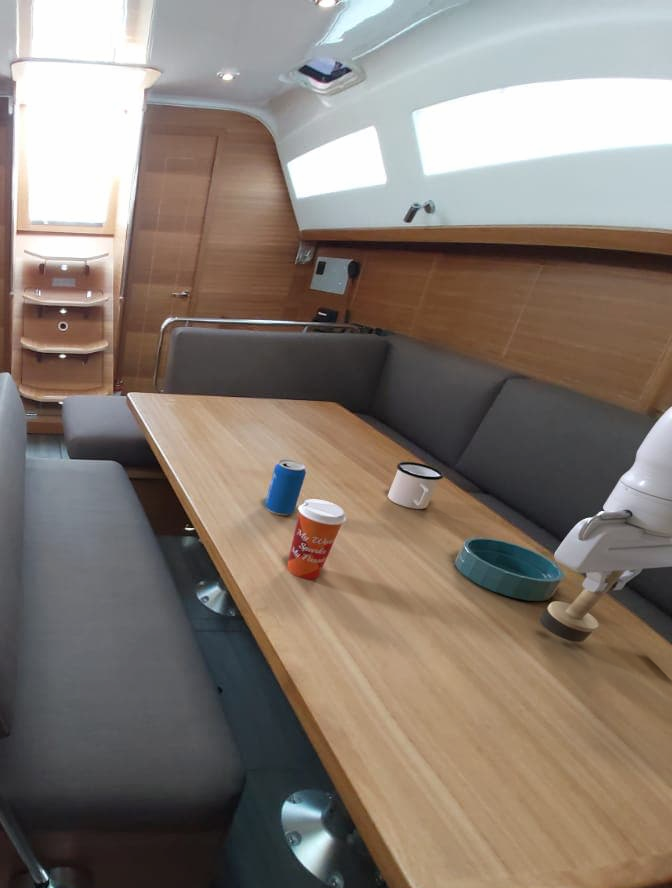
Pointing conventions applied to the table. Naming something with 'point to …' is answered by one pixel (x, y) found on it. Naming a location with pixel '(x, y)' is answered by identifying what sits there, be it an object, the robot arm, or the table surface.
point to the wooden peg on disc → (576, 613)
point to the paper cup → (314, 537)
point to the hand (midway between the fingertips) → (600, 588)
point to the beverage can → (285, 487)
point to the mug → (414, 484)
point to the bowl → (509, 569)
